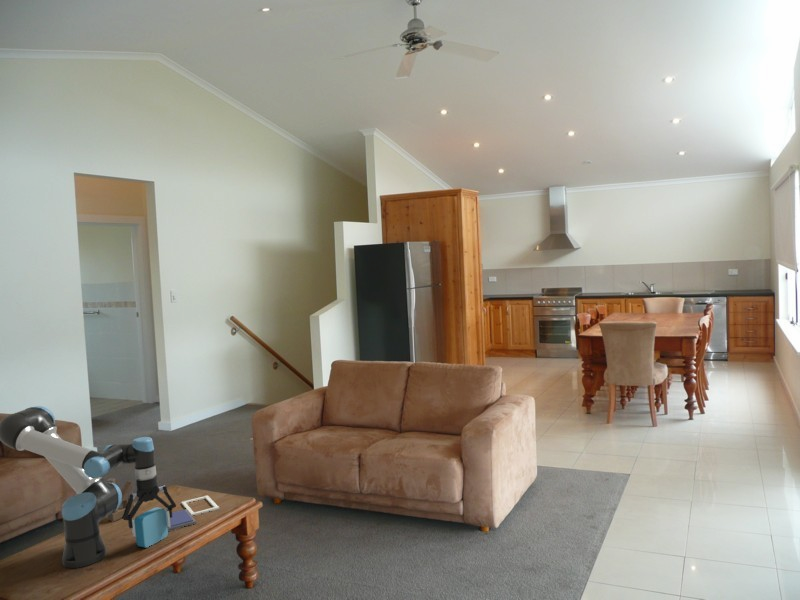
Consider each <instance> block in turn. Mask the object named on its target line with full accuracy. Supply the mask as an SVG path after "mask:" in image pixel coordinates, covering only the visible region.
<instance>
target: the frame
mask: <svg viewBox="0 0 800 600" xmlns="http://www.w3.org/2000/svg"><path fill="white" fill-rule="evenodd" d="M198 500H199V501H202V500H206V501H207V502H208V503H209V504H210V505H211V506H212V507H209V508H205V509H203V510H198V511H194V510H193V509H192V508H191V507H190V506H189V504H190V503H189V502H191V503H194V502H193V501H195V502H198ZM180 503H182V504H181V505H182V506H183V508H184V509H185V508H186V509H187V511H188V512H189V513H190V514H191V515H192V517H193V515H195V516H198V515H201V513H202V514H205V513H209V511H210V512H213V511H217V510H220V506H219V505H217V503H216V502H215V501H214V500H213V499H212V498H211V497H210V496H209V495H204V496H201V497H196V498H192V499H188V500H183V501H181V502H180Z"/></svg>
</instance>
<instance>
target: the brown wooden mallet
mask: <svg viewBox="0 0 800 600" xmlns="http://www.w3.org/2000/svg"><path fill="white" fill-rule="evenodd" d="M105 482H106V483H107V482H110V483H114V484H116V479H115V478H113V477H111V478H107V479H106V480H105ZM132 482H133V481H128V480H127V481H126V482H125V484H124V485H123V486H122V489H120V490H121V493H122V501H121V504H122V505H121V506H122V507H120V508H119V507H118V508H117V509H116V510H115V511H114V512H113V513H112V514H110V515H108V516H107V520H108V521H109V520H110V521H109V522H112V521H114V522H116V521H119V520H121V519H123V518H122V517H123V514H124V511H125V508H126V505H127V503H128V500H129V493H134V490H133V483H132ZM134 506H135V503H134V499H133V502H132V505H131V508H130V511H129V514H130V512H131V511H132V509H133V508H134ZM129 514H128V515H129ZM118 519H119V520H118Z"/></svg>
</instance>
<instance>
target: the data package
mask: <svg viewBox="0 0 800 600" xmlns="http://www.w3.org/2000/svg"><path fill="white" fill-rule="evenodd" d="M134 523H135V533H136V536H135V540H136V542H135V543H136V545H137V546H138V547H139V548H140V547H141V548H145V549H147V548H150V547H152V546H154V545H155V544H157V543H159V542H160V540H161V541H162V540H164V539H166V538H167V537H168V535H169V531H168V528H167V518H166V509H165V508H163V507H157V506H156V507H153V508H151V509H149V510H147V511H145V512H143V513H141V514H139V515H137V516H135V518H134ZM151 545H152V546H151ZM149 546H150V547H149Z"/></svg>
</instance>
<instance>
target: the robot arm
mask: <svg viewBox="0 0 800 600" xmlns="http://www.w3.org/2000/svg"><path fill="white" fill-rule="evenodd" d="M57 431H58V427H57V425H56V420H55V415H54V413H53V412H52V411H51V410H50V409H49V408H47V407H45V406H40V405H37V406H30V407H27V408H25V409H23V410H20V411H17V412H15V413H11V414H8V415H7V416H5V417H4V418H2V419H1V420H0V442H1V443H2V444H3V445H5V446H7V447H9V448H10V449H13V450H15V451H16V450H17V451H21V452H22V451H28V452H31V453H33V454H37V455H39V456H43V458H45V459H46V460H47V461H48V462H49V463H50V464H51V466H52V467H53V468H54V470H56V471H57V472H58V474H59V475H60V476H61V477H62V478H63V479H64V480H65V482H66V483H67V484H68V485H69V486H70V488H71V489H73V490H74V492H75V493H76V495H72V496H69V498H67V499H65V501H64V502H63V504H62V505H61V516H62V524H63V532H64V541H65V542H64V543H65V544H64V548H63V553H62V557H61V563H62V566H63V567H64V568H67V569H77V568H83V567H86V566H91V565H93V564H96V563H98V562H99V561H101V560H102V559H104V558H105V557H106V556H107V555H108V552H107V546H106V544H105V541H104V540H103V538H102V536H101V534H100V524H99V523H100V522H101V521H103V520H104V519H105V518H108V515H110V514H112V513H113V512H114V511H115V510H116V509H117V508H118V509H119V507H120V506H121V504H122V502H121V501H122V493H121V490H122V489H120V487H119V486H118V485H117V484H116V483H115V484H114V483H110V482H107V483H106V480H104V478H103V476H104V475H106V474H107V473H110V471H112V470H114V469H116V468H118V467H119V466H121V465H125V464H127V465H128V464H134V472H135V479H136V480H135V481H136V492H133V493H129V500H128V503H127V505H126V508H125V511H124V514H123V518H122V519H123V520H124V521H127V522H128V528H129V529H131V532H132V533H131V534H132V536H133V537H135V538H136V533H135V523H134V520H135V518H134V517H135V515H136V513H137V512H138V511H139V508H140V507H141V505H142V504H143V503H147V502H150V501H154V500H156V501H158V502H159V503H160V504H161V505H162V506H164V507H165V508H166V509H165V510H166V518H167V526H168V527H171V525H170V518H172V513H173V509H174V508H176V507H177V504H176V502H175V501H174V500H173V498H172V496H171V495H170V493H169V491H168V488H167V486H166V484H163V485H162V486H159V485H158V477H157V468H156V461H155V460H156V457H155V446H154V442H153V441H154V440H153V439H152V438H151V437H150V436H143V437H138V438H134V439H133V440H132V441H131V443H120V444H119V443H118V444H117V443H112V444H109V445H105V447H104V449H103V450H102V451H101V452H99V451H96V450H93V449H90V448H86V447H84V446H81V445H78V444H75V443H72V442H70V441H66V440H64V439H63V438H61V437H60V435H59V434H58V433H57ZM159 491H160V492H161V493H164V495H165V496H166V498H167V500H168V502H169V503H170V504H169V503H167V502H166V500H164V499H162V497H161V496H159V495H158V494H159ZM136 497H138V499H137V501H136V503H134V508H133V509H132V511H131V512H130V514H129V511H130V508H131V505H132V502H133V500H134V499H136ZM128 514H129V516H128Z"/></svg>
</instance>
